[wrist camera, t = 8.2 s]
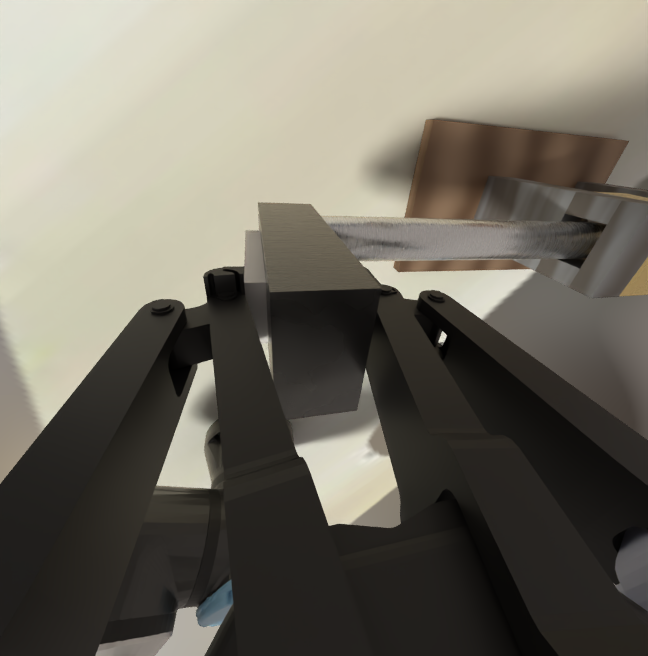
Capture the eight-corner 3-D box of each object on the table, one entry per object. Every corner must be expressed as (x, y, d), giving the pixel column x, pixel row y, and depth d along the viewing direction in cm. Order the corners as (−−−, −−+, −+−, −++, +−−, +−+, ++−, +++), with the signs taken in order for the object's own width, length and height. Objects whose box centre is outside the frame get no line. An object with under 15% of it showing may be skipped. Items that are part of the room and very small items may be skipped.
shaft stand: (393, 267, 38) (480, 349, 24) (426, 119, 29) (597, 109, 15) (548, 264, 44) (694, 329, 29) (615, 140, 35) (873, 147, 20)
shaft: (261, 266, 21) (275, 421, 10) (256, 193, 18) (269, 292, 7) (575, 261, 27) (800, 351, 16) (607, 206, 25) (906, 270, 13)
